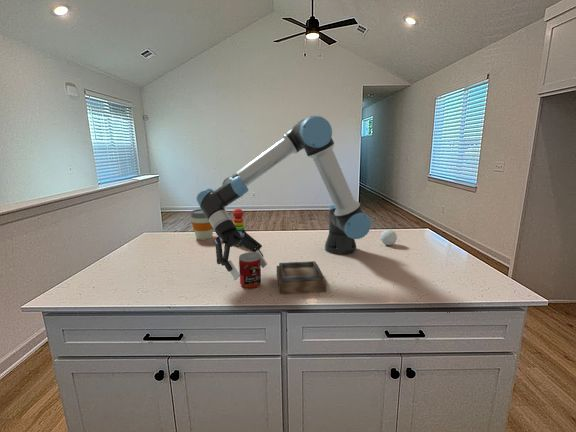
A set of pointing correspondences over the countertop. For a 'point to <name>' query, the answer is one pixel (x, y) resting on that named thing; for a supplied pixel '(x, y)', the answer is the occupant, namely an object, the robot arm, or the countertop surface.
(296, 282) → the square wooden tray
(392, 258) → the countertop surface
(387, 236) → the ball
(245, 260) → the canned food
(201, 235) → the reusable coffee cup
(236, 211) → the stacking toy
